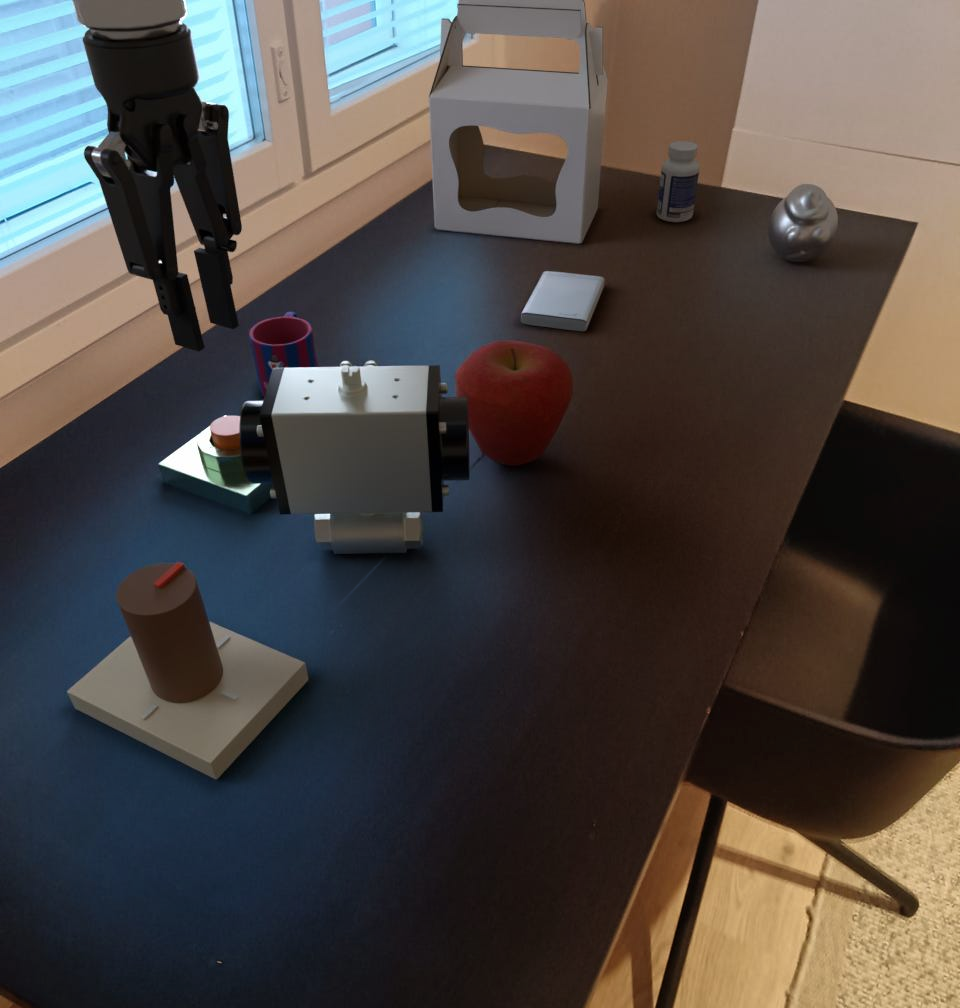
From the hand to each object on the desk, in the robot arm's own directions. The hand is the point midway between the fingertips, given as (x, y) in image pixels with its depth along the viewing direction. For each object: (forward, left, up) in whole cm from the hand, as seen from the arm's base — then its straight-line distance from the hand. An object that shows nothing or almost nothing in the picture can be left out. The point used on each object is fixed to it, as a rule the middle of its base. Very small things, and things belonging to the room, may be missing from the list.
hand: (207, 334), depth 82 cm
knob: (+16, -25, -13) cm, 32 cm away
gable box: (-5, +70, -15) cm, 72 cm away
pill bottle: (+15, +82, -15) cm, 85 cm away
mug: (-6, +17, -15) cm, 23 cm away
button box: (0, 0, -15) cm, 15 cm away
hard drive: (+13, +48, -15) cm, 52 cm away
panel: (+16, -25, -15) cm, 33 cm away
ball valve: (+18, -3, -15) cm, 24 cm away
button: (0, 0, -11) cm, 11 cm away
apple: (+23, +15, -15) cm, 31 cm away
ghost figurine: (+35, +75, -15) cm, 84 cm away
